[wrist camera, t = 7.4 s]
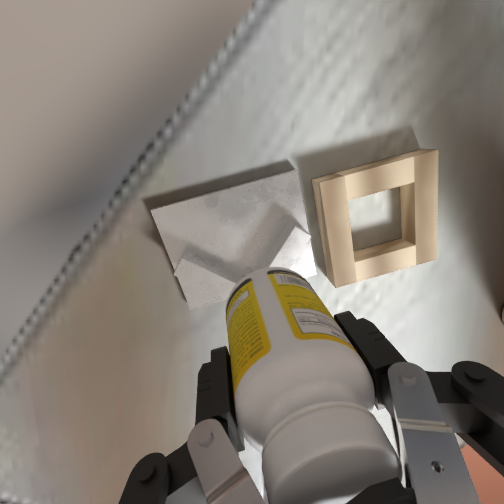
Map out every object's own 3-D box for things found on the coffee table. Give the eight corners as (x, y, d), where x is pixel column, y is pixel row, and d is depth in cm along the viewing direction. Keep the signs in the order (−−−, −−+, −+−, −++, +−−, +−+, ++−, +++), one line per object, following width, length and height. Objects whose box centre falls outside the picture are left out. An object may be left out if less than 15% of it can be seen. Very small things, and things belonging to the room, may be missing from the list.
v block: (294, 168, 28) (305, 172, 25) (314, 272, 33) (324, 286, 30) (152, 208, 28) (144, 216, 25) (192, 307, 33) (189, 325, 30)
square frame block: (420, 149, 29) (438, 149, 27) (422, 251, 34) (437, 259, 32) (311, 179, 29) (319, 182, 27) (327, 278, 34) (335, 288, 31)
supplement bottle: (240, 351, 18) (268, 566, 9) (212, 280, 16) (213, 468, 7) (320, 326, 18) (429, 513, 9) (304, 252, 16) (425, 398, 7)
